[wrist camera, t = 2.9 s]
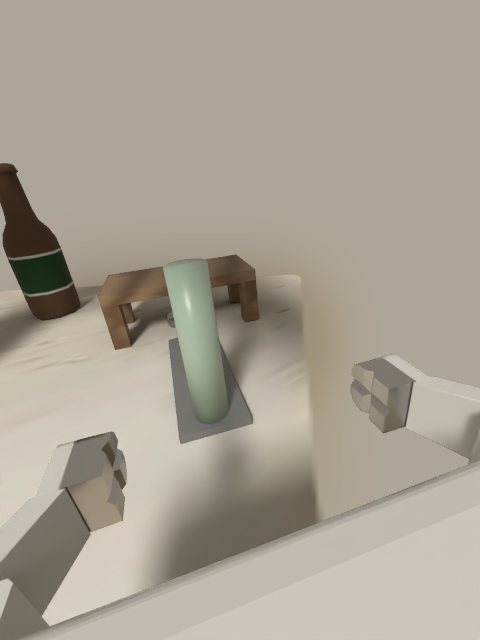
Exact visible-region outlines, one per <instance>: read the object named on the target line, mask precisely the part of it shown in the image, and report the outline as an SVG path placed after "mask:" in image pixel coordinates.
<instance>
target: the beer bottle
mask: <svg viewBox="0 0 480 640" xmlns="http://www.w3.org/2000/svg"><path fill="white" fill-rule="evenodd" d="M17 172H18V171H17V170H16V168H15V167H14V165H12V164H7V163H2V164H0V203H1V206H2V209H3V212H4V216H5V221H6V226H5V229H4V232H3V247H4V250H5V253H6V256H7V258H8V261H9V263H10V265H11V267H12V269H13V272H14V274H15V276H16V278H17V281H18V283H19V285H20V287H21V290H22V292H23V294H24V296H25V299H26V301H27V303H28V305H29V307H30V309H31V311H32V313H33V315H34V316H35V317H36V318H38V319H41V320H49V319H55V318H60V317H63V316H66V315H68V314H71V313H73V312H75V311H76V310H77V309H78V308H79V307H80V301H79V298H78V294H77V292H76V289H75V286H74V283H73V280H72V278H71V275H70V272H69V270H68V267H67V264H66V261H65V258H64V255H63V253H62V250H61V247H60V245H59V243H58V241H57V238H56V237H55V235H54V234H53V233H52V232H51V230H50V229H49V228H48V227H47V226H45V225H44V224H43V223H42V222H41V221H39V220H38V218H37V217H36V215H35V213H34V212H33V210H32V208H31V206H30V204H29V201H28V199H27V197H26V195H25V193H24V190H23V188H22V186H21V184H20V181H19V179H18V177H17V175H16V173H17Z"/></svg>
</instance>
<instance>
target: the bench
mask: <svg viewBox="0 0 480 640" xmlns="http://www.w3.org/2000/svg"><path fill="white" fill-rule="evenodd" d="M206 260H207V263H208V270H209V276H210V283H211V288H214V287H219V286H225V285H228V293H229V299H230V301H231V302H232V303H235V302H240V303H241V313H242V318H243V319H244V320H245V322H248V321H253V320H258V319H259V315H258V302H257V289H256V276H255V269H254V268H252V267H251V266H250V265H249V264H248V263H246V262H245V261H243V260H242V259H241V258H240V257H238V256H237V255H231V256H225V257H218V258H212V259H206ZM163 267H164V266H162V267H156V268H150V269H144V270H138V271H132V272H125V273H119V274H113V275H108V277H107V279H106V281H105V283H104V285H103V287H102V289H101V291H100V293H99V295H98V299H99V302H100V305H101V308H102V311H103V314H104V317H105V320H106V323H107V326H108V329H109V333H110V336H111V339H112V342H113V345H114V348H115V350H116V349H121V348H126V347H130V346H131V342H132V339H131V335H130V332H129V329H128V325H127V324H128V323H133V322H134V318H135V317H134V313H133V310H132V306H131V302H137V301H142V300H148V299H153V298H159V297H164V296H169V294H168V289H167V285H166V280H165V276H164V271H163Z"/></svg>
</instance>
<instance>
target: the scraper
mask: <svg viewBox="0 0 480 640" xmlns="http://www.w3.org/2000/svg"><path fill="white" fill-rule="evenodd" d="M163 271H164V276H165V280H166V285H167V289H168V294H169V299H170V303H171V308H172V312H173V317H174V322H175V326H176V331H177V336H178V338H175V339H171V340H169V350H170V359H171V368H172V377H173V386H174V395H175V404H176V413H177V422H178V431H179V439H180V443H181V444H183V443H187V442H190V441H194V440H197V439H201V438H204V437H208V436H211V435H215V434H218V433H222V432H225V431H229V430H232V429H236V428H239V427H243V426H246V425H250V424H252V417H251V415H250V413H249V410H248V408H247V406H246V404H245V401H244V399H243V397H242V394H241V392H240V390H239V388H238V385H237V383H236V381H235V378H234V376H233V374H232V372H231V369H230V367H229V365H228V362H227V360H226V358H225V356H224V353H223V351H222V349H221V346H220V344H219V337H218V331H217V324H216V317H215V310H214V304H213V297H212V290H211V283H210V276H209V270H208V263H207V260H204V259H185V260H179V261H175V262H172V263H169V264H166V265H165V266H164V267H163Z"/></svg>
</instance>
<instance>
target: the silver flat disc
mask: <svg viewBox="0 0 480 640" xmlns="http://www.w3.org/2000/svg"><path fill="white" fill-rule="evenodd" d="M167 320H168V324H169V326H171V327H173V328H176V326H175V322H174V317H173V312H172V311H171V312H170V313H169V314H168V315H167Z"/></svg>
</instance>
